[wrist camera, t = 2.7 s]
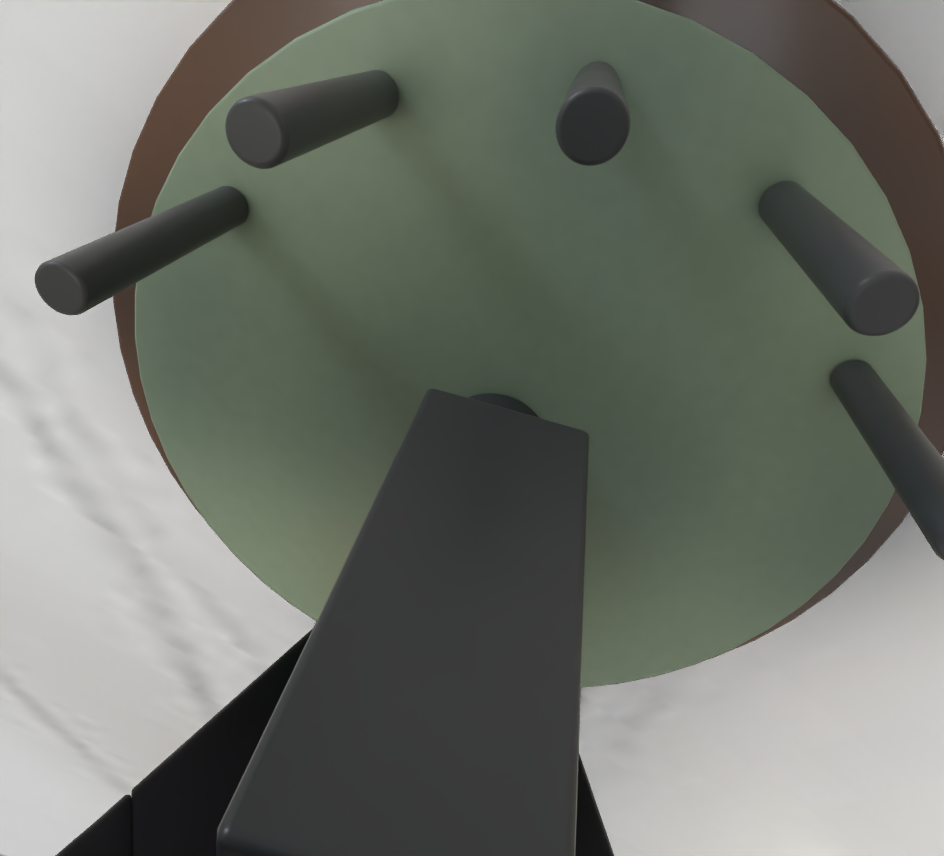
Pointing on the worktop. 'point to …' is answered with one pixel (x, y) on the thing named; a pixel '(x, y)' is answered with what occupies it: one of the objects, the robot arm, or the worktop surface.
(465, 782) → the drying rack
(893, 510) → the turntable base
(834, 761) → the worktop surface
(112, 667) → the worktop surface
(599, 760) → the worktop surface
